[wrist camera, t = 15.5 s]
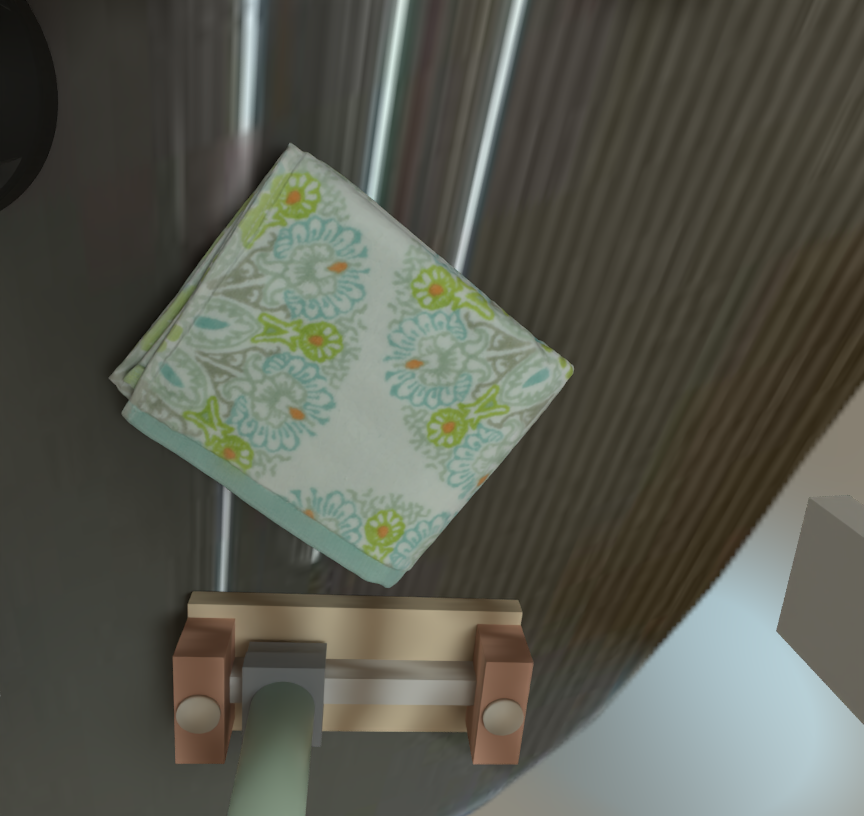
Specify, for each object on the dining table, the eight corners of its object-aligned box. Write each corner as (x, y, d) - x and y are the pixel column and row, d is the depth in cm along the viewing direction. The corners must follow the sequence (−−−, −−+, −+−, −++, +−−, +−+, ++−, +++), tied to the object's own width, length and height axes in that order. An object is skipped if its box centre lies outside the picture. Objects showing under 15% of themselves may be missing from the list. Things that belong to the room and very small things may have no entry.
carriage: (249, 711, 50) (202, 933, 36) (249, 636, 48) (201, 837, 34) (323, 712, 50) (307, 930, 36) (327, 638, 48) (311, 836, 34)
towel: (293, 130, 41) (283, 126, 36) (569, 360, 46) (593, 383, 42) (113, 379, 44) (82, 405, 39) (389, 564, 50) (392, 607, 45)
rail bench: (194, 714, 52) (174, 781, 46) (192, 591, 49) (170, 646, 43) (501, 717, 54) (517, 781, 49) (518, 599, 51) (536, 653, 46)
